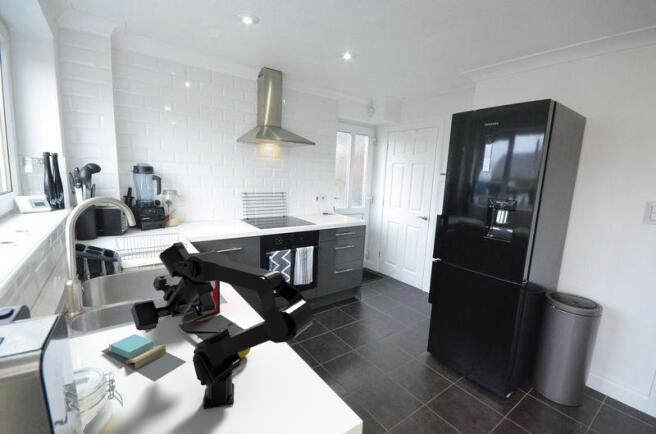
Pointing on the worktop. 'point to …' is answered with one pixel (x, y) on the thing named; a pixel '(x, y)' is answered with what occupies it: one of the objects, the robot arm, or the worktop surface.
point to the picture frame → (210, 327)
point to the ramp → (148, 356)
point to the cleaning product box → (214, 294)
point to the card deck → (131, 346)
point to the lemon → (244, 353)
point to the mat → (151, 364)
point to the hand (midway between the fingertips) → (165, 326)
